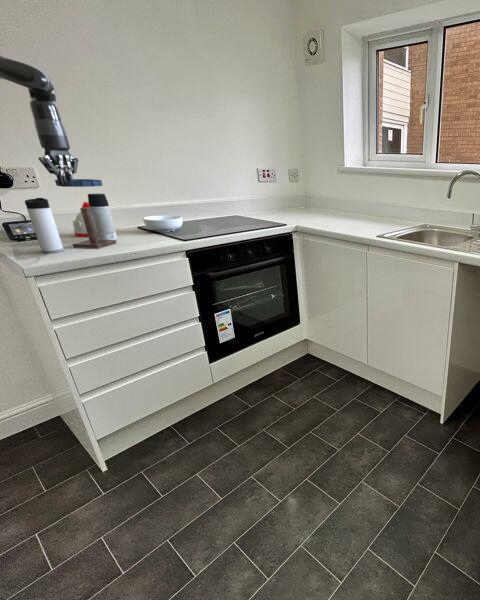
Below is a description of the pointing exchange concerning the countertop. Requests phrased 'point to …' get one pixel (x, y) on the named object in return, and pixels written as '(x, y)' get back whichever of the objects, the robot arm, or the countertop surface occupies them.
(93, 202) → the spray can
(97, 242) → the post
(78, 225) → the kitchen timer
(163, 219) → the cereal bowl
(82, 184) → the ring
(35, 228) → the travel mug
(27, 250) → the countertop surface
